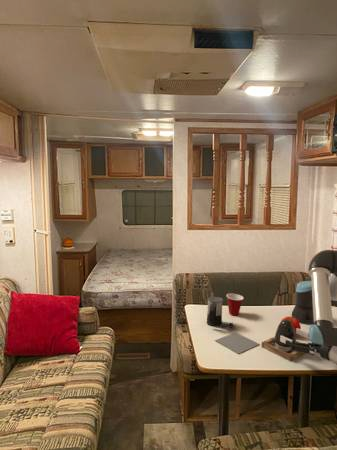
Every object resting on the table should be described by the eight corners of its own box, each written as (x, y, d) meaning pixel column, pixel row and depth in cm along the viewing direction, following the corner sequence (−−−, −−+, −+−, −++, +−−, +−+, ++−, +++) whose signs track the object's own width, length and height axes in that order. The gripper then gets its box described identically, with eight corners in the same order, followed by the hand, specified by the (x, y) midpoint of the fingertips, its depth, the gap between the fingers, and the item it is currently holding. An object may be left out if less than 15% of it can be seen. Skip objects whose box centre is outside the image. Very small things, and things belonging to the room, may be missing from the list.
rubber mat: (235, 332, 175) (235, 332, 174) (259, 344, 162) (259, 344, 162) (214, 340, 165) (214, 340, 165) (238, 354, 152) (238, 353, 152)
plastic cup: (243, 318, 194) (244, 299, 192) (225, 316, 196) (226, 298, 194) (242, 311, 204) (243, 293, 203) (225, 310, 206) (226, 292, 205)
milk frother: (205, 319, 191) (206, 296, 190) (231, 320, 191) (232, 296, 189) (207, 330, 177) (208, 305, 175) (236, 331, 177) (237, 305, 175)
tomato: (282, 327, 182) (283, 313, 181) (302, 333, 175) (303, 318, 174) (276, 334, 173) (277, 319, 172) (297, 340, 167) (298, 324, 166)
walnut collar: (280, 338, 169) (280, 333, 169) (308, 351, 156) (308, 346, 156) (261, 346, 160) (261, 342, 159) (289, 361, 147) (290, 356, 146)
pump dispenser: (273, 351, 155) (275, 322, 153) (274, 342, 165) (276, 314, 163) (295, 356, 151) (297, 326, 149) (295, 346, 161) (297, 317, 159)
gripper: (317, 370, 131) (273, 349, 148) (345, 352, 146) (302, 334, 163) (318, 353, 130) (273, 334, 147) (346, 337, 145) (303, 320, 162)
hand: (288, 334), depth 155 cm, fingers open, 13 cm apart
